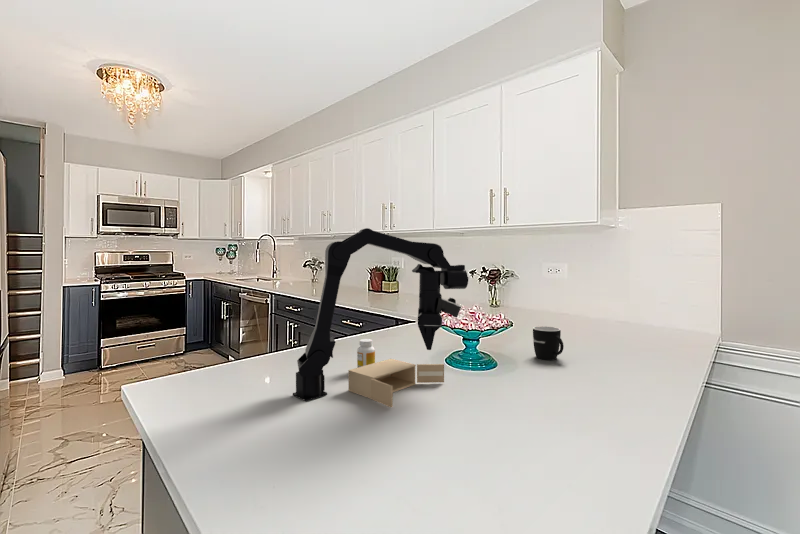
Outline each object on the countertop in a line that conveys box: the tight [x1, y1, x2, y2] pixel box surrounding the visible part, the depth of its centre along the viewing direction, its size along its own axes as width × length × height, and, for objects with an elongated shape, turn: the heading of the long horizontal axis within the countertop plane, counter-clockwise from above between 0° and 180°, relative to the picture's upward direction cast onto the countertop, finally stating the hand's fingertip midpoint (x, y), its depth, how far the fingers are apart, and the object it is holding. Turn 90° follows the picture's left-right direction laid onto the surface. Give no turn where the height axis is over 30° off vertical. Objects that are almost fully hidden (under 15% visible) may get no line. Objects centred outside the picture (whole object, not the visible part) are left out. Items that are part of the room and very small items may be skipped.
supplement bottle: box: [356, 338, 376, 368], centre depth 128 cm, size 5×5×10 cm
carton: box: [347, 358, 417, 399], centre depth 114 cm, size 16×10×6 cm, turn 137°
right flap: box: [416, 363, 445, 384], centre depth 117 cm, size 8×1×5 cm, turn 92°
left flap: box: [370, 379, 394, 408], centre depth 101 cm, size 8×1×5 cm, turn 42°
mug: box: [532, 325, 564, 361], centre depth 143 cm, size 12×9×10 cm
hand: (428, 345), depth 116 cm, fingers open, 9 cm apart
